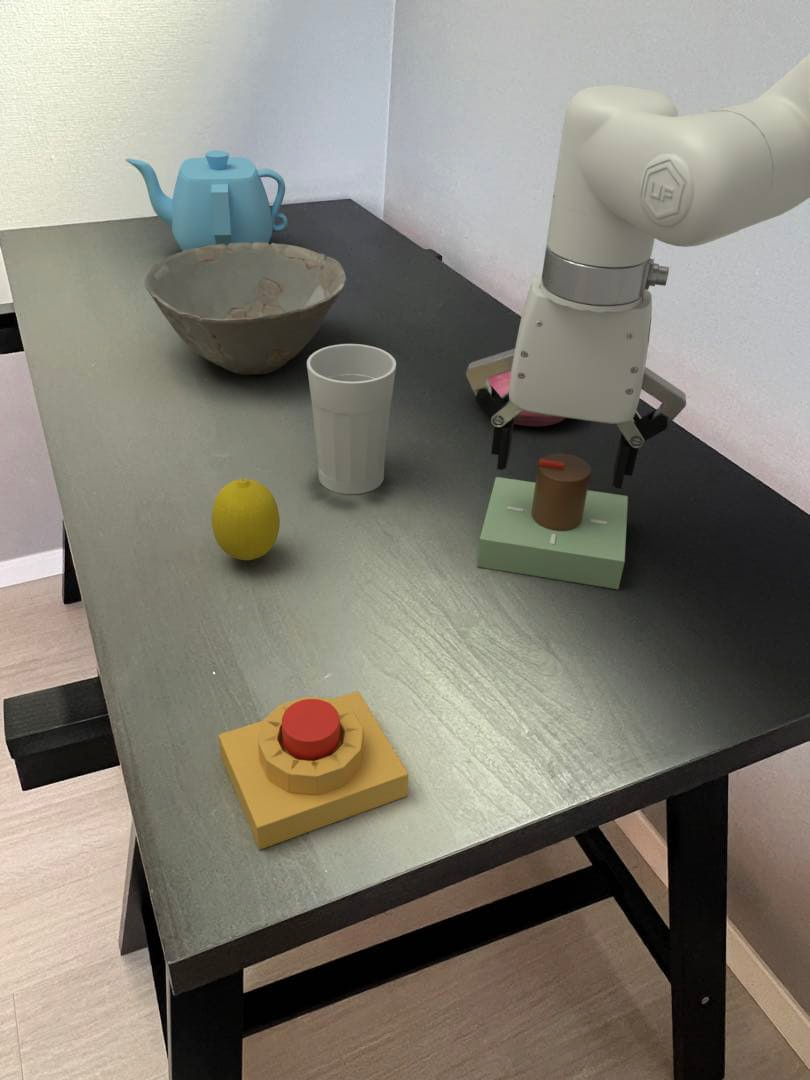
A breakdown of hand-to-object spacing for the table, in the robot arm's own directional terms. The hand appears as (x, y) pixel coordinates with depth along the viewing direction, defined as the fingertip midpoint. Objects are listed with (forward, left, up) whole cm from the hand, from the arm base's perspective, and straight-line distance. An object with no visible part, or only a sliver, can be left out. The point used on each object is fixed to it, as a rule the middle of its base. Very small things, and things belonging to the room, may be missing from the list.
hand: (559, 470), depth 80 cm
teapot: (+55, -59, -8) cm, 81 cm away
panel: (0, 0, -8) cm, 8 cm away
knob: (0, 0, -4) cm, 4 cm away
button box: (+13, +30, -8) cm, 34 cm away
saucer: (+5, -25, -8) cm, 26 cm away
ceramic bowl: (+38, -28, -8) cm, 47 cm away
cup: (+20, -6, -8) cm, 22 cm away
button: (+13, +30, -4) cm, 33 cm away
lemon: (+25, +9, -8) cm, 27 cm away
